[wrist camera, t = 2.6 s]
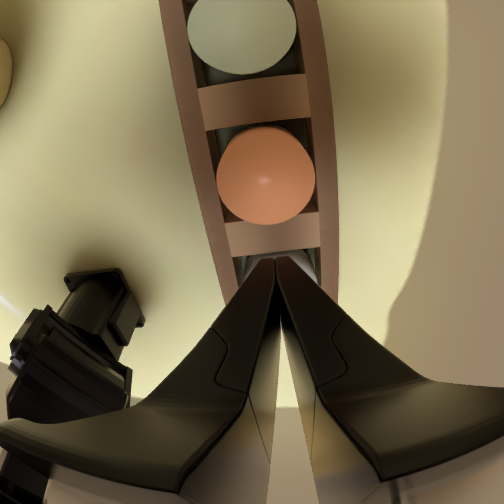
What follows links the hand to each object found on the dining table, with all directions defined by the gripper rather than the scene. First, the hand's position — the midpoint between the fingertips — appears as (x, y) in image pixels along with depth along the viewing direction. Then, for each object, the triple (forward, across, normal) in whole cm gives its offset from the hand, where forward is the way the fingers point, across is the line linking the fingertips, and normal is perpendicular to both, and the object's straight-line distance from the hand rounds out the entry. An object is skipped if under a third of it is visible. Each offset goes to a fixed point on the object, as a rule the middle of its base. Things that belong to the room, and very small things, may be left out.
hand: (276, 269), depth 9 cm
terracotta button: (+10, 0, 0) cm, 10 cm away
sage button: (+10, 0, -8) cm, 13 cm away
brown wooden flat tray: (+12, 0, 0) cm, 12 cm away
